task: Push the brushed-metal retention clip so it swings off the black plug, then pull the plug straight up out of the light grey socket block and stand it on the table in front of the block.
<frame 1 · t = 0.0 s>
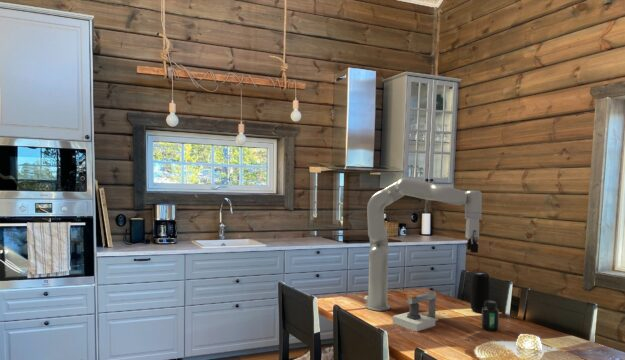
hand: (472, 250, 200), 31 cm above the table, tool pointing down, fingers open, 9 cm apart
plug: (413, 324, 181), point 1 cm above the table, touching socket block
portable speaker: (479, 311, 207), on the table
clip: (422, 297, 185), point 12 cm above the table, hinge at 0.0°
supplement bottle: (490, 329, 181), on the table
socket block: (413, 326, 181), on the table
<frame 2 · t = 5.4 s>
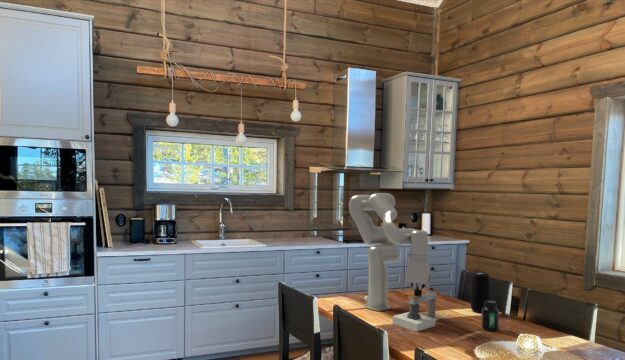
hand: (417, 297, 187), 11 cm above the table, tool pointing down, fingers closed
clip: (422, 297, 185), point 12 cm above the table, hinge at 3.2°, touching gripper
everything else where it was.
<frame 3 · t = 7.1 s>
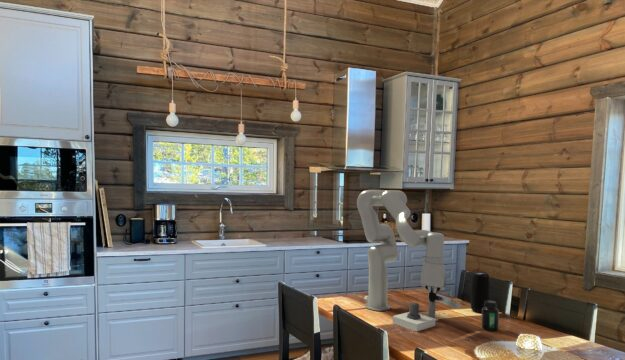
hand: (432, 301, 185), 11 cm above the table, tool pointing down, fingers closed
clip: (443, 298, 183), point 12 cm above the table, hinge at 77.4°, touching gripper
everything else where it was.
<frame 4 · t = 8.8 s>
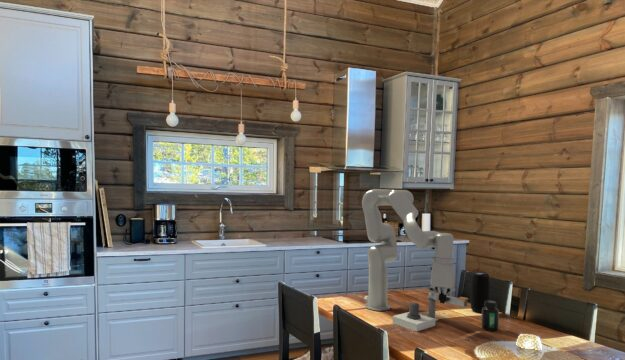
hand: (442, 302, 182), 11 cm above the table, tool pointing down, fingers closed
clip: (447, 298, 184), point 12 cm above the table, hinge at 95.4°, touching gripper
everything else where it was.
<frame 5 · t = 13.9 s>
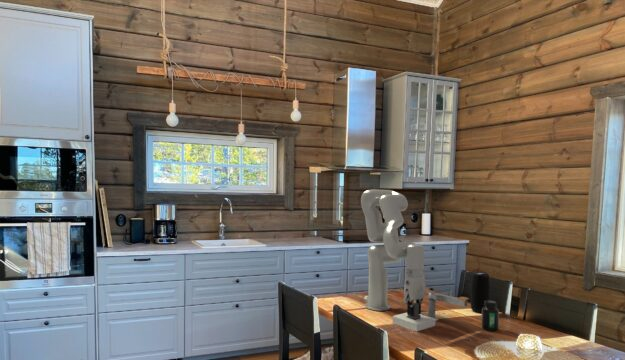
hand: (414, 313, 181), 6 cm above the table, tool pointing down, fingers closed on plug, 4 cm apart
plug: (413, 324, 181), point 1 cm above the table, touching gripper, socket block
clip: (447, 298, 184), point 12 cm above the table, hinge at 96.5°
everything else where it was.
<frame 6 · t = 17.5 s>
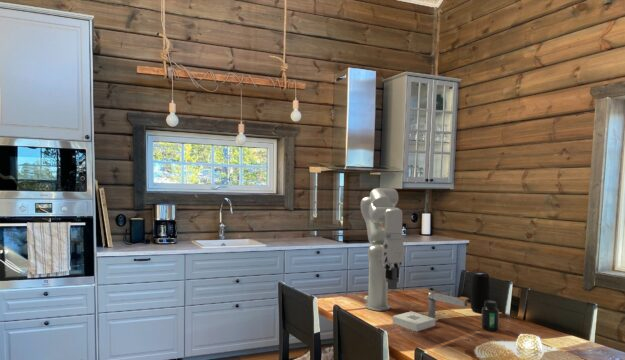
hand: (392, 277, 182), 21 cm above the table, tool pointing down, fingers closed on plug, 4 cm apart
plug: (392, 288, 182), point 17 cm above the table, touching gripper
everything else where it was.
when the fingers open (6 cm above the table, at t = 21.1 s): plug drops 1 cm, on the table.
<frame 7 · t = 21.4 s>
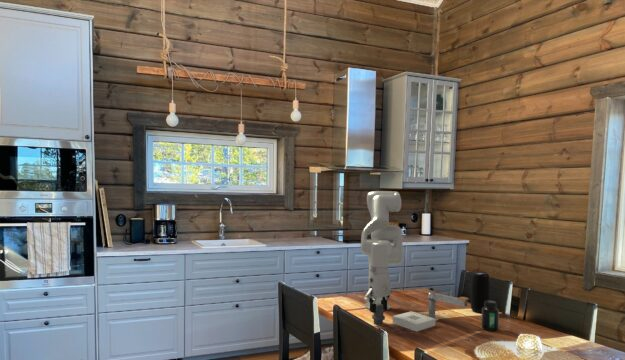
hand: (378, 310, 182), 6 cm above the table, tool pointing down, fingers open, 6 cm apart
plug: (378, 325, 182), on the table
everything else where it was.
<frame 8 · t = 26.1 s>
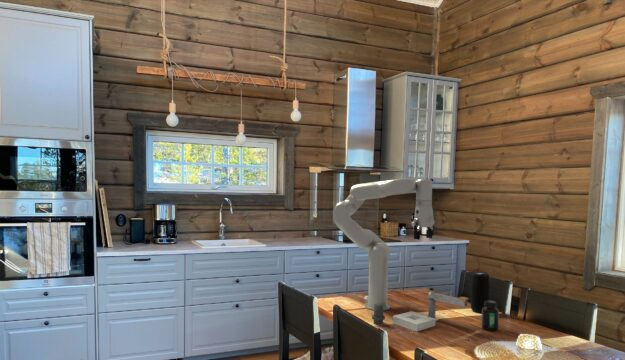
hand: (423, 238, 203), 36 cm above the table, tool pointing down, fingers open, 9 cm apart
nothing on the table moved.
at the end: clip at +96° (first picture: +0°); plug inside the target area (0.0 cm from its centre), on the table; plug tilted 0° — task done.
